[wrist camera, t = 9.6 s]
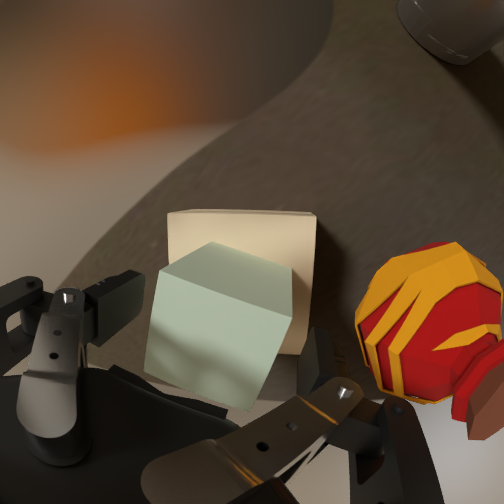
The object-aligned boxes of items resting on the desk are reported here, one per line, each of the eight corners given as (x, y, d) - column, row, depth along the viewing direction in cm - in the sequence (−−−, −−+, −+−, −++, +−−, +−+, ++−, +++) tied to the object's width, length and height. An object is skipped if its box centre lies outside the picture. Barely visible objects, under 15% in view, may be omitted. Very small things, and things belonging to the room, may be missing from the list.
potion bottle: (455, 231, 18) (591, 278, 4) (432, 341, 20) (512, 450, 6) (343, 221, 20) (457, 279, 5) (329, 344, 22) (356, 501, 7)
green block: (211, 241, 16) (159, 270, 10) (291, 268, 16) (292, 317, 9) (192, 312, 17) (143, 371, 11) (264, 338, 17) (249, 412, 10)
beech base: (194, 209, 21) (167, 213, 16) (310, 212, 20) (316, 216, 15) (197, 314, 23) (175, 342, 18) (302, 322, 22) (304, 354, 17)
